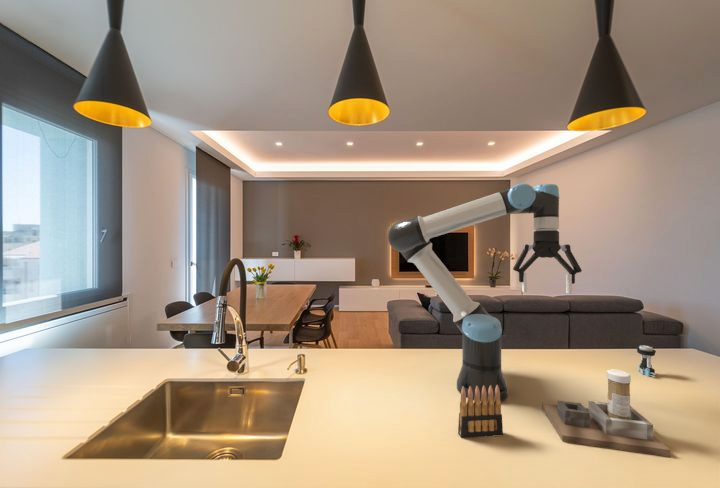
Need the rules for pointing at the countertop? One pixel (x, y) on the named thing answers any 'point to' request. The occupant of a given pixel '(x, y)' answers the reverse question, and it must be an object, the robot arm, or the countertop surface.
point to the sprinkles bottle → (618, 394)
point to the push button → (646, 360)
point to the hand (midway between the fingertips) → (546, 292)
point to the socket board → (603, 428)
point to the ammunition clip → (480, 413)
